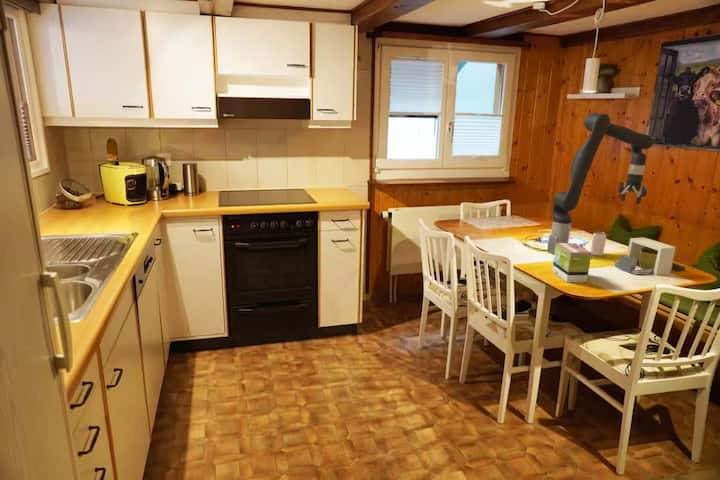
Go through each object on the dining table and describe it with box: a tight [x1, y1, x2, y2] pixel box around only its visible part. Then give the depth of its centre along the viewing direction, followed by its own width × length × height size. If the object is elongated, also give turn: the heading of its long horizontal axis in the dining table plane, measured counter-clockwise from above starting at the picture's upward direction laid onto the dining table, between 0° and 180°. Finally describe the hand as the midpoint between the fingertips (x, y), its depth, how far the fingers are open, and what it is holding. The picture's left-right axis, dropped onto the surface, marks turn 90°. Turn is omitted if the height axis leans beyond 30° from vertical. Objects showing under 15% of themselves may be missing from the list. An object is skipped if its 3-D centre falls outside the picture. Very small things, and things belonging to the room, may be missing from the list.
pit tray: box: [672, 262, 686, 272], centre depth 248 cm, size 5×14×2 cm, turn 19°
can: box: [589, 231, 607, 257], centre depth 264 cm, size 6×6×12 cm
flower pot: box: [638, 248, 658, 269], centre depth 243 cm, size 9×9×9 cm
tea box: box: [551, 242, 592, 284], centre depth 226 cm, size 15×10×15 cm, turn 5°
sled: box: [614, 253, 673, 275], centre depth 242 cm, size 23×14×7 cm, turn 109°
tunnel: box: [626, 236, 676, 276], centre depth 242 cm, size 9×18×14 cm, turn 19°
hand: (630, 202), depth 267 cm, fingers open, 8 cm apart
